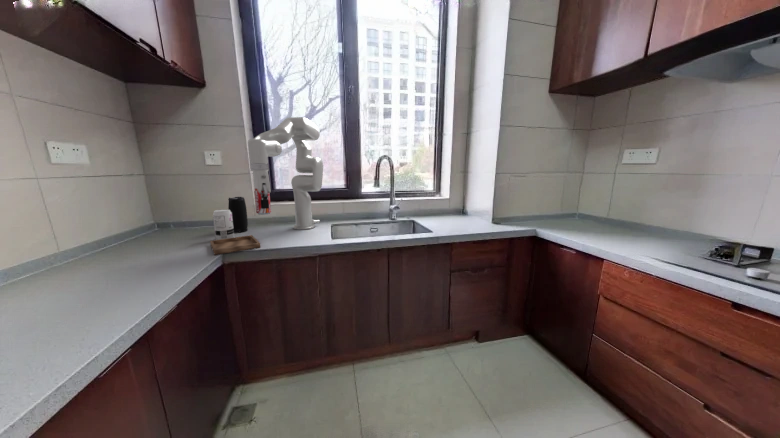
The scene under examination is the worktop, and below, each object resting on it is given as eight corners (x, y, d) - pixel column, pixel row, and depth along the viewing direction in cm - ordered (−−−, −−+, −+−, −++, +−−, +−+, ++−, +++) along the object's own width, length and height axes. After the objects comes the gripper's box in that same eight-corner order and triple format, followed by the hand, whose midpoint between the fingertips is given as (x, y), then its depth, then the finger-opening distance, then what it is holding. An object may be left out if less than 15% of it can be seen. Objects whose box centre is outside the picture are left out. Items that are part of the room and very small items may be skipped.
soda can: (270, 214, 123) (268, 188, 121) (255, 215, 121) (252, 188, 119) (272, 212, 129) (269, 187, 127) (257, 212, 127) (255, 187, 125)
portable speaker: (228, 233, 150) (224, 198, 147) (235, 229, 159) (231, 196, 156) (245, 232, 152) (241, 198, 148) (250, 229, 161) (247, 196, 157)
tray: (252, 239, 139) (251, 235, 139) (260, 247, 125) (260, 243, 125) (210, 245, 128) (210, 240, 128) (214, 255, 114) (214, 250, 114)
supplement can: (213, 239, 138) (210, 210, 135) (231, 236, 144) (228, 208, 141) (218, 242, 133) (215, 212, 130) (237, 239, 139) (233, 210, 136)
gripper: (274, 167, 117) (277, 209, 121) (263, 167, 130) (266, 204, 134) (255, 168, 112) (259, 210, 116) (246, 167, 126) (250, 206, 129)
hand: (263, 207), depth 125 cm, fingers closed on soda can, 5 cm apart
